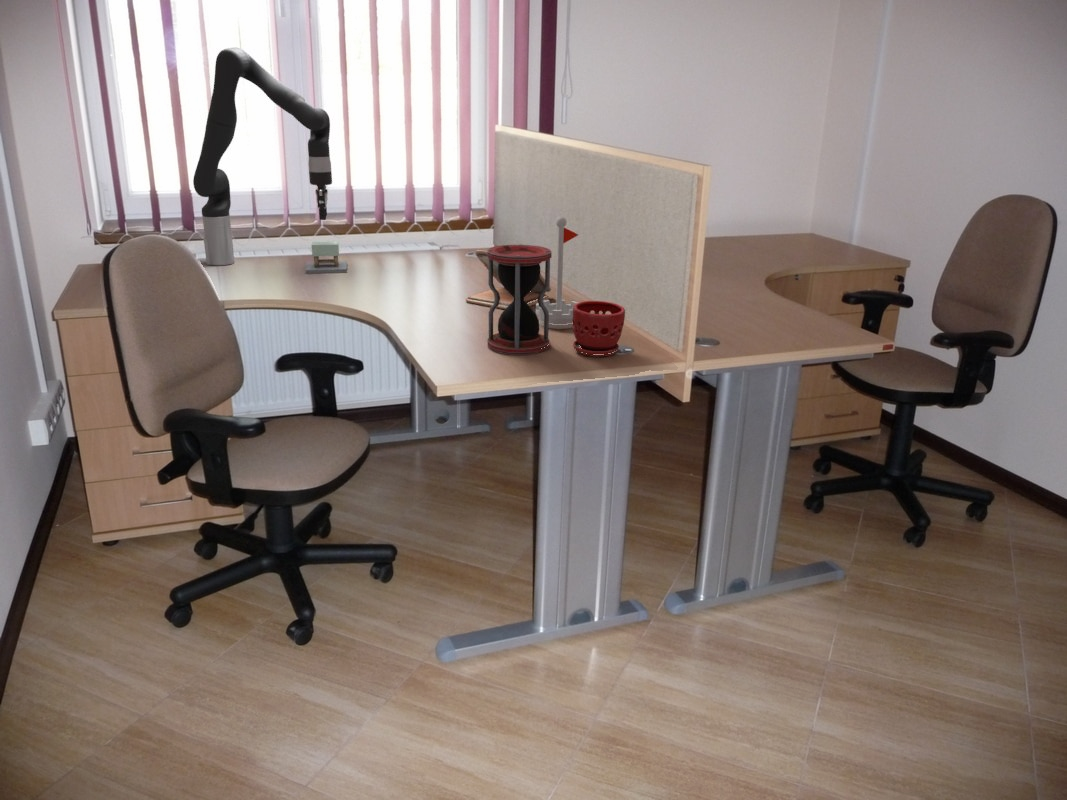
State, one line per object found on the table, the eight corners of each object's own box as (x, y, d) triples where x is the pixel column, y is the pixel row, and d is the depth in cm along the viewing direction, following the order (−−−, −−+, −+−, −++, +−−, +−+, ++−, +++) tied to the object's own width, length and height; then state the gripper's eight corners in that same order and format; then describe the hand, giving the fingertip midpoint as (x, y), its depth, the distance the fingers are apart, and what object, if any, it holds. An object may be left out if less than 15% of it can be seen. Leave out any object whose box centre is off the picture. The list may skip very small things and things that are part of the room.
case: (553, 299, 271) (554, 248, 265) (516, 312, 254) (516, 259, 249) (501, 290, 281) (500, 241, 276) (461, 303, 265) (460, 251, 259)
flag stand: (543, 331, 236) (545, 221, 226) (530, 318, 248) (531, 213, 237) (587, 328, 240) (592, 219, 229) (572, 316, 251) (576, 212, 241)
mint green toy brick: (339, 267, 304) (337, 244, 301) (313, 267, 302) (311, 244, 299) (339, 263, 309) (338, 241, 306) (314, 264, 308) (312, 241, 305)
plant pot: (568, 358, 214) (570, 311, 209) (574, 343, 226) (576, 298, 222) (621, 361, 212) (623, 314, 208) (624, 346, 224) (626, 301, 220)
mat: (305, 273, 298) (305, 270, 298) (307, 265, 311) (307, 261, 311) (346, 272, 301) (346, 269, 301) (347, 264, 314) (347, 261, 313)
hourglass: (550, 337, 230) (552, 244, 221) (548, 356, 215) (551, 257, 206) (490, 336, 231) (489, 243, 222) (484, 354, 215) (484, 255, 207)
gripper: (330, 172, 288) (333, 221, 294) (331, 167, 301) (334, 214, 307) (307, 172, 287) (311, 221, 293) (309, 167, 300) (313, 214, 306)
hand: (323, 217), depth 300 cm, fingers open, 8 cm apart
